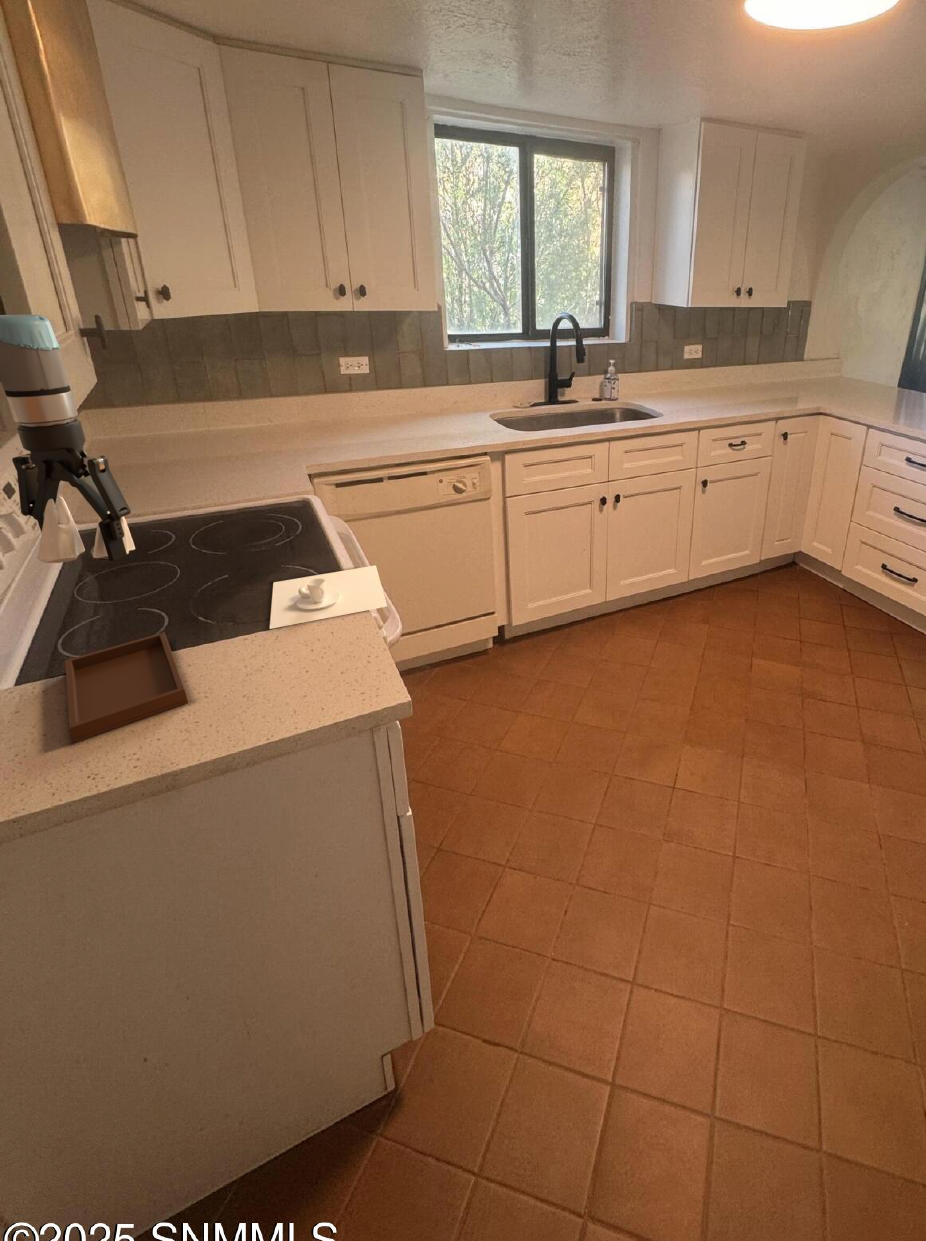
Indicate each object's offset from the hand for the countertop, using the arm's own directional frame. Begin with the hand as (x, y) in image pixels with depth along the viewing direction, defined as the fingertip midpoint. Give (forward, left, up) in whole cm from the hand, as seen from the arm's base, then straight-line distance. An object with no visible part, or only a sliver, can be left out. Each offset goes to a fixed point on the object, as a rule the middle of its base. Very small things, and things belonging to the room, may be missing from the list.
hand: (89, 556), depth 102 cm
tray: (+14, -13, -15) cm, 24 cm away
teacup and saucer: (+29, +18, -15) cm, 38 cm away
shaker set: (0, 0, -1) cm, 1 cm away
